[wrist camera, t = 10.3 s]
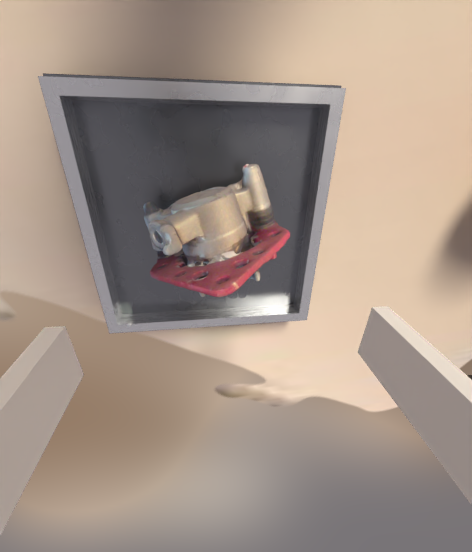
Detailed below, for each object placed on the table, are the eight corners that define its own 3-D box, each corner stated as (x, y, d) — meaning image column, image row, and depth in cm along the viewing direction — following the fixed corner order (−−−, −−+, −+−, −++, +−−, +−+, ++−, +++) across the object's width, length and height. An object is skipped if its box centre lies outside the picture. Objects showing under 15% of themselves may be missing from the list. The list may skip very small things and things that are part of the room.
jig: (51, 77, 18) (26, 65, 16) (334, 88, 21) (353, 80, 18) (114, 319, 28) (105, 337, 26) (301, 308, 31) (310, 323, 28)
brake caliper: (183, 320, 25) (123, 324, 13) (158, 221, 27) (85, 146, 15) (292, 287, 25) (329, 261, 13) (259, 190, 27) (265, 90, 15)
